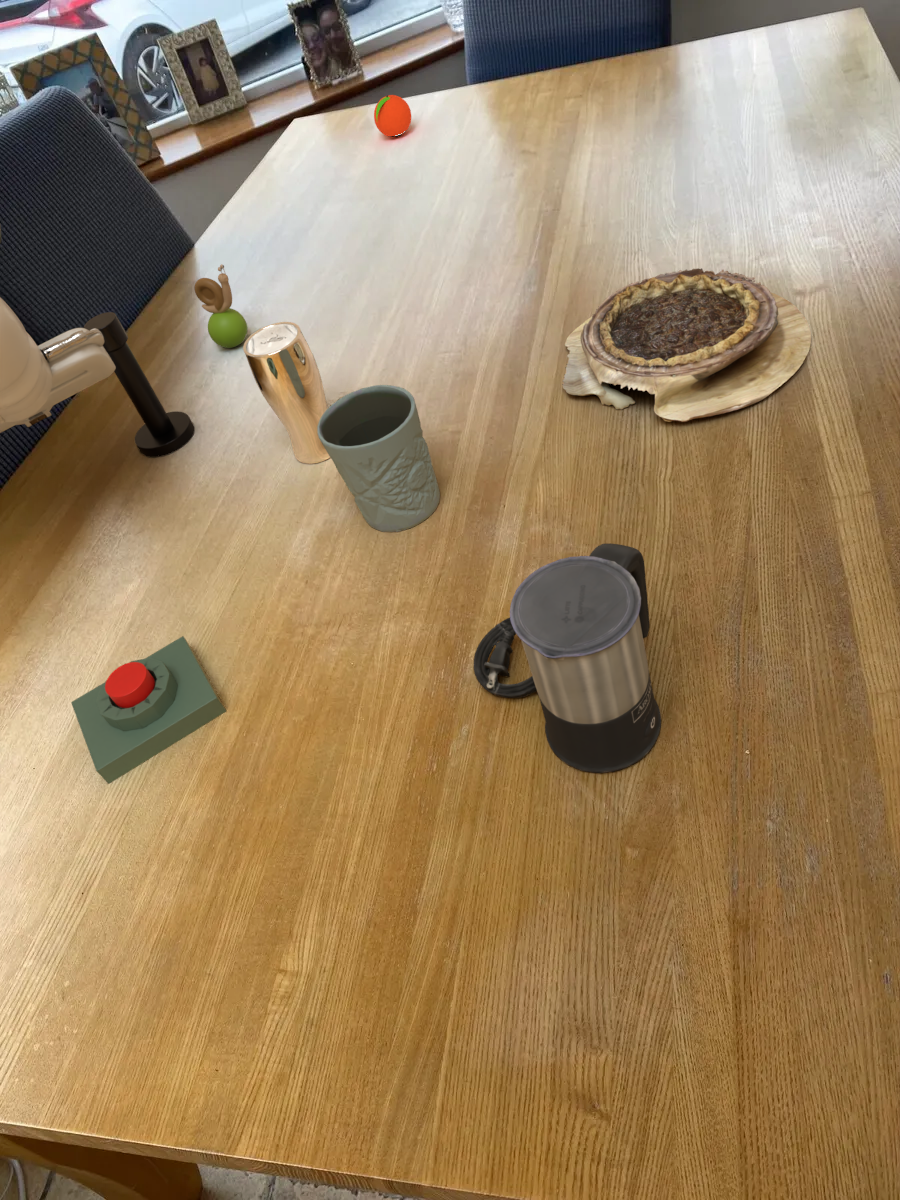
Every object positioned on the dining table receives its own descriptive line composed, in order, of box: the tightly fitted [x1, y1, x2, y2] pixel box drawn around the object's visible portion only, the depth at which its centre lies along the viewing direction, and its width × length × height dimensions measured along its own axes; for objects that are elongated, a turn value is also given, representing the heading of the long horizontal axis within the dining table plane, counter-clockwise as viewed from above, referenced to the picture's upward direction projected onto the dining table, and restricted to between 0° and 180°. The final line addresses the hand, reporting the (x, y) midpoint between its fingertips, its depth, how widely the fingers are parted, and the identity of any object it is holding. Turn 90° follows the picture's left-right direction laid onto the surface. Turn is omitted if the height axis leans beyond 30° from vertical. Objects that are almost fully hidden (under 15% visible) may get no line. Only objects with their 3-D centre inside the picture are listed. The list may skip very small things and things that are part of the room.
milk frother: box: [473, 542, 662, 774], centre depth 72 cm, size 14×16×15 cm
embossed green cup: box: [317, 384, 441, 533], centre depth 96 cm, size 10×10×12 cm
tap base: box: [108, 341, 196, 458], centre depth 117 cm, size 8×8×14 cm
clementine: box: [373, 94, 412, 137], centre depth 173 cm, size 8×7×7 cm
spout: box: [83, 311, 129, 353], centre depth 111 cm, size 15×4×6 cm, turn 121°
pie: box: [561, 268, 812, 423], centre depth 105 cm, size 28×27×5 cm
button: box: [105, 661, 155, 708], centre depth 85 cm, size 4×4×2 cm
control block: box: [70, 635, 227, 785], centre depth 87 cm, size 12×10×4 cm
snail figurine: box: [193, 263, 248, 349], centre depth 131 cm, size 5×6×12 cm
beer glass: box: [242, 321, 331, 465], centre depth 107 cm, size 7×7×15 cm
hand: (36, 415), depth 105 cm, fingers closed
